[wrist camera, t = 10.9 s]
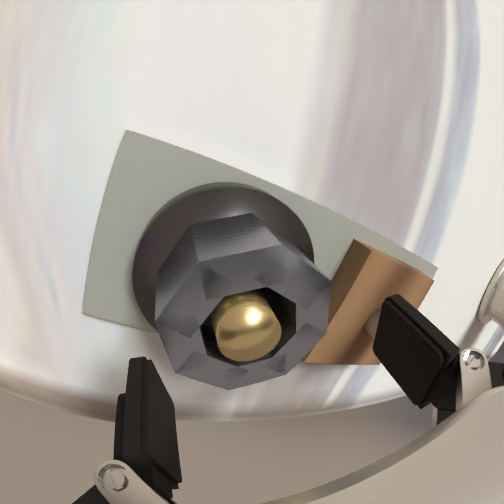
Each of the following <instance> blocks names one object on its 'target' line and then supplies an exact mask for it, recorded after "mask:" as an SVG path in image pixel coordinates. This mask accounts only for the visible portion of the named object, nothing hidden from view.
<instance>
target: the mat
mask: <svg viewBox="0 0 504 504" xmlns="http://www.w3.org/2000/svg"><path fill="white" fill-rule="evenodd" d="M216 182H236V183H242V184H247V185H251V186H254V187H257V188H259V189H261V190H263V191H265V192H267V193H269V194H271V195H272V196H274V197H275V198H277V199H278V200H280V201H281V202H282V203H284V204H285V205H287V206H288V207H289V208H290V209H291V210H292V211H293V212H294V213H295V214H296V215H297V216H298V217H299V219H300V220H301V221H302V222H303V224H304V226H305V228H306V229H307V231H308V233H309V236H310V239H311V242H312V246H313V251H314V265H315V266H316V267H317V268H318V269H319V270H320V271H321V272H322V273H324V274H325V275H326V276H327V277H328V278H329V279H330V280H332V279H333V277H334V275H335V273H336V271H337V270H338V268H339V266H340V264H341V262H342V260H343V258H344V256H345V255H346V253H347V251H348V249H349V247H350V245H351V243H352V241H353V239H356V240H358V241H360V242H362V243H364V244H366V245H369V246H371V247H373V248H375V249H377V250H379V251H381V252H383V253H385V254H388V255H390V256H392V257H394V258H396V259H398V260H400V261H402V262H404V263H406V264H408V265H410V266H412V267H414V268H416V269H418V270H420V271H421V272H423V273H424V274H425V275H427V276H428V277H430V278H431V279H432V278H433V276H434V275H435V273H436V271H437V269H438V268H437V267H436V266H434V265H432V264H431V263H429V262H427V261H426V260H424V259H422V258H420V257H419V256H417V255H415V254H413V253H412V252H410V251H408V250H406V249H405V248H403V247H401V246H399V245H397V244H396V243H394V242H392V241H390V240H388V239H386V238H384V237H383V236H381V235H379V234H377V233H375V232H373V231H371V230H369V229H367V228H365V227H364V226H362V225H360V224H358V223H356V222H354V221H352V220H350V219H348V218H346V217H344V216H342V215H340V214H338V213H336V212H334V211H332V210H329V209H327V208H325V207H323V206H321V205H319V204H317V203H315V202H313V201H310V200H308V199H306V198H304V197H302V196H300V195H297V194H295V193H293V192H291V191H288V190H286V189H284V188H282V187H279V186H277V185H275V184H273V183H270V182H268V181H266V180H263V179H261V178H258V177H256V176H254V175H251V174H249V173H246V172H244V171H241V170H239V169H236V168H234V167H231V166H229V165H226V164H224V163H221V162H219V161H216V160H213V159H211V158H208V157H206V156H203V155H200V154H197V153H195V152H192V151H189V150H186V149H184V148H181V147H178V146H175V145H172V144H169V143H166V142H163V141H161V140H158V139H155V138H151V137H148V136H145V135H142V134H139V133H136V132H133V131H129V130H126V131H125V133H124V136H123V139H122V141H121V144H120V147H119V150H118V153H117V155H116V158H115V161H114V164H113V168H112V171H111V174H110V177H109V181H108V184H107V187H106V191H105V194H104V198H103V202H102V206H101V209H100V213H99V218H98V222H97V226H96V231H95V235H94V240H93V245H92V250H91V255H90V261H89V267H88V273H87V279H86V286H85V294H84V302H83V312H82V313H84V314H88V315H91V316H94V317H98V318H101V319H105V320H108V321H112V322H116V323H119V324H123V325H127V326H131V327H135V328H139V329H143V330H147V331H152V332H156V333H159V332H158V331H156V330H155V329H154V328H153V327H152V326H151V325H150V323H149V322H148V321H147V320H146V318H145V317H144V315H143V314H142V312H141V310H140V308H139V306H138V304H137V302H136V298H135V295H134V291H133V283H132V269H133V263H134V258H135V254H136V250H137V246H138V243H139V240H140V238H141V235H142V233H143V231H144V229H145V227H146V225H147V224H148V222H149V221H150V220H151V218H152V217H153V216H154V214H155V213H156V212H157V211H158V210H159V209H160V208H161V207H162V206H163V205H164V204H166V203H167V202H168V201H170V200H171V199H172V198H174V197H175V196H177V195H179V194H181V193H182V192H184V191H186V190H189V189H191V188H194V187H196V186H200V185H204V184H208V183H216Z"/></svg>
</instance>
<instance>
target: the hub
mask: <svg viewBox="0 0 504 504" xmlns="http://www.w3.org/2000/svg"><path fill="white" fill-rule="evenodd" d="M248 213H253V214H254V215H256V216H257V217H258V218H260V219H261V220H262V221H264V222H265V223H266V224H268V225H269V226H270V227H272V228H273V229H274V230H276V231H277V232H278V233H280V234H281V235H282V236H284V237H285V238H286V239H288V240H289V241H290V242H291V243H293V244H294V245H295V246H296V247H297V248H298V249H299V250H300V251H301V252H302V253H303V254H304V255H305V256H306V257H307V258H308V259H309V260H310V261H311V262H312V263H313V264H314V251H313V246H312V242H311V239H310V236H309V233H308V231H307V229H306V228H305V226H304V224H303V222H302V221H301V220H300V219H299V217H298V216H297V215H296V214H295V213H294V212H293V211H292V210H291V209H290V208H289V207H288V206H287V205H285V204H284V203H282V202H281V201H280V200H278V199H277V198H275V197H274V196H272V195H271V194H269V193H267V192H265V191H263V190H261V189H259V188H257V187H254V186H251V185H247V184H242V183H236V182H216V183H208V184H204V185H200V186H196V187H194V188H191V189H189V190H186V191H184V192H182V193H181V194H179V195H177V196H175V197H174V198H172V199H171V200H170V201H168V202H167V203H166V204H164V205H163V206H162V207H161V208H160V209H159V210H158V211H157V212H156V213H155V214H154V216H153V217H152V218H151V220H150V221H149V222H148V224H147V225H146V227H145V229H144V231H143V233H142V235H141V238H140V240H139V243H138V246H137V250H136V254H135V258H134V263H133V269H132V283H133V291H134V295H135V298H136V302H137V304H138V306H139V308H140V310H141V312H142V314H143V315H144V317H145V318H146V320H147V321H148V322H149V323H150V325H151V326H152V327H153V328H154V329H155V330H156V331H158V329H157V326H156V323H155V303H156V281H157V272H158V270H159V269H160V267H161V266H162V264H163V263H164V261H165V260H166V258H167V257H168V255H169V254H170V252H171V251H172V249H173V248H174V247H175V245H176V244H177V242H178V241H179V239H180V238H181V237H182V235H183V234H184V232H185V231H186V230H187V228H188V227H189V225H190V224H194V223H199V222H204V221H209V220H215V219H220V218H225V217H231V216H237V215H242V214H248ZM267 288H268V287H263V288H259V289H255V290H250V291H246V292H242V293H237V294H233V295H228V296H224V297H223V298H222V300H221V301H220V302H219V303H218V305H217V306H216V307H215V308H214V309H213V311H212V312H211V313H210V316H211V320H212V324H213V328H214V331H215V335H216V339H217V343H218V347H219V349H220V351H221V353H222V354H223V355H224V356H226V357H227V358H229V359H231V360H235V361H251V360H255V359H258V358H261V357H263V356H264V355H266V354H268V353H269V352H270V351H271V350H272V349H274V347H275V346H276V345H277V344H278V342H279V340H280V337H281V331H282V330H281V326H280V323H279V321H278V320H277V318H276V316H275V314H274V313H273V311H272V309H271V307H270V306H269V304H268V302H267V300H266V299H265V297H264V295H263V293H264V292H265V291H266V289H267ZM158 332H159V331H158Z"/></svg>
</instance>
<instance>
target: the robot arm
mask: <svg viewBox="0 0 504 504" xmlns="http://www.w3.org/2000/svg"><path fill="white" fill-rule="evenodd" d="M478 319H479V321H480V322H481V323H483V324H485V323H487V322H489V321H490V320H491V319H492V320H493V321H495V322H496V323H497V324H498V325H500V326H501V327H502V328H503V329H504V260H503V262H502V263H501V264H500V266H499V267H498V269H497V270H496V272H495V274H494V276H493V278H492V280H491V282H490V283H489V286H488V288H487V290H486V292H485V294H484V297H483V299H482V302H481V305H480V308H479V313H478ZM459 350H460V349H459V348H458V347H457V346H456V345H455V344H454V343H453V342H452V341H451V340H450V339H449V338H447V337H446V336H445V335H444V334H443V333H442V332H441V331H440V330H439V329H438V328H437V327H436V326H435V325H433V324H432V323H431V322H430V321H429V320H428V319H427V318H426V317H425V316H424V315H422V314H421V313H420V312H419V311H418V310H417V309H416V308H415V307H413V306H412V305H411V304H410V303H409V302H408V301H407V300H405V299H404V298H403V297H402V296H401V295H399V294H395V295H392V296H389V297H386V298H385V300H384V302H383V303H382V307H381V312H380V316H379V321H378V326H377V330H376V334H375V339H374V343H373V352H374V354H375V356H376V357H377V358H378V359H379V361H380V362H381V363H382V364H383V366H384V367H385V368H386V369H387V371H388V372H389V373H390V374H391V376H392V377H393V378H394V380H395V381H396V382H397V383H398V385H399V386H400V387H401V388H402V390H403V391H404V392H405V394H406V395H407V396H408V397H409V399H410V400H411V401H412V403H413V404H415V405H418V406H419V408H420V409H422V408H424V407H425V406H427V405H428V404H430V402H431V403H432V404H433V419H432V429H431V430H429V431H428V432H426V433H425V434H423V435H422V436H420V437H419V438H417V439H415V440H414V441H412V442H411V443H409V444H407V445H406V446H404V447H402V448H401V449H399V450H397V451H395V452H394V453H392V454H390V455H388V456H386V457H384V458H382V459H381V460H379V461H377V462H375V463H373V464H371V465H369V466H367V467H365V468H363V469H360V470H358V471H356V472H354V473H351V474H349V475H347V476H345V477H342V478H340V479H337V480H335V481H332V482H330V483H327V484H324V485H322V486H319V487H316V488H313V489H311V490H308V491H305V492H302V493H298V494H295V495H292V496H288V497H285V498H281V499H278V500H274V501H270V502H266V503H262V504H504V363H495V362H488V360H487V358H486V356H485V354H484V353H483V352H481V351H480V350H478V349H476V348H467V349H464V350H463V351H462V352H461V354H459V353H458V352H459ZM94 481H95V485H94V486H93V487H92V488H90V489H89V490H88V491H87V492H86V493H85V494H83V495H82V496H81V497H80V498H79V499H77V500H76V501H75V502H74V503H72V504H177V503H176V502H175V501H173V500H172V499H171V498H172V497H173V495H172V489H178V483H181V482H182V476H181V469H180V461H179V452H178V443H177V433H176V423H175V410H174V404H173V401H172V399H171V397H170V395H169V394H168V392H167V390H166V388H165V386H164V384H163V382H162V380H161V378H160V376H159V374H158V372H157V370H156V368H155V366H154V364H153V362H152V360H147V359H146V357H138V358H131V359H130V360H129V367H128V376H127V386H126V393H123V394H120V395H119V396H118V401H117V411H116V423H115V439H114V460H108V461H105V462H103V463H102V464H100V465H99V466H98V467H97V469H96V471H95V475H94Z"/></svg>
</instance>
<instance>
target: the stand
mask: <svg viewBox="0 0 504 504" xmlns="http://www.w3.org/2000/svg"><path fill="white" fill-rule="evenodd" d="M433 282H434V280H433V279H431V278H430V277H428V276H427V275H425V274H424V273H423V272H421V271H420V270H418V269H416V268H414V267H412V266H410V265H408V264H406V263H404V262H402V261H400V260H398V259H396V258H394V257H392V256H390V255H388V254H385V253H383V252H381V251H379V250H377V249H375V248H373V247H371V246H369V245H366V244H364V243H362V242H360V241H358V240H356V239H353V241H352V243H351V245H350V247H349V249H348V251H347V253H346V255H345V256H344V258H343V260H342V262H341V264H340V266H339V268H338V270H337V271H336V273H335V275H334V277H333V279H332V280H331V290H330V303H329V315H328V325H327V334H326V335H325V336H324V337H323V338H322V339H321V340H320V341H319V342H318V343H317V344H316V345H315V346H314V347H313V348H312V349H311V350H310V351H309V352H308V353H307V354H306V355H305V356H304V357H303V358H302V360H303V362H305V363H323V364H351V365H379V364H380V363H381V362H380V361H379V359H378V358H377V357H376V356H375V354H374V352H373V343H374V339H375V334H376V330H377V326H378V321H379V316H380V312H381V307H382V303H383V302H384V300H385V298H386V297H389V296H392V295H395V294H399V295H401V296H402V297H403V298H404V299H405V300H407V301H408V302H409V303H410V304H411V305H412V306H413V307H415V308H416V309H418V308H419V306H420V304H421V303H422V301H423V299H424V298H425V296H426V294H427V293H428V291H429V289H430V287H431V286H432V284H433Z"/></svg>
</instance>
